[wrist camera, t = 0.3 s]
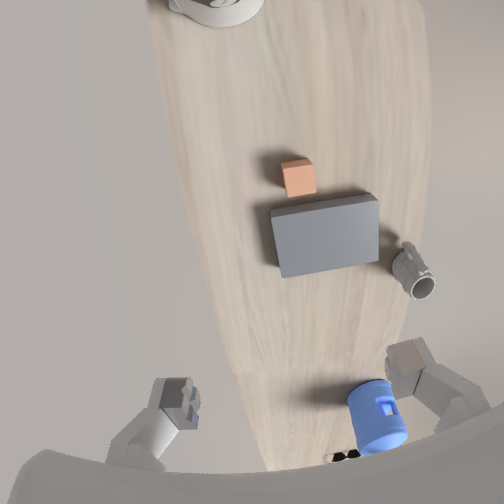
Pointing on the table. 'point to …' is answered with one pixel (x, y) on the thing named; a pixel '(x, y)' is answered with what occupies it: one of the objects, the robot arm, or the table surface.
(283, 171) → the cube
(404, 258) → the mug
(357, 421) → the water jug
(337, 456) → the sunglasses
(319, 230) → the stand
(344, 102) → the table surface
